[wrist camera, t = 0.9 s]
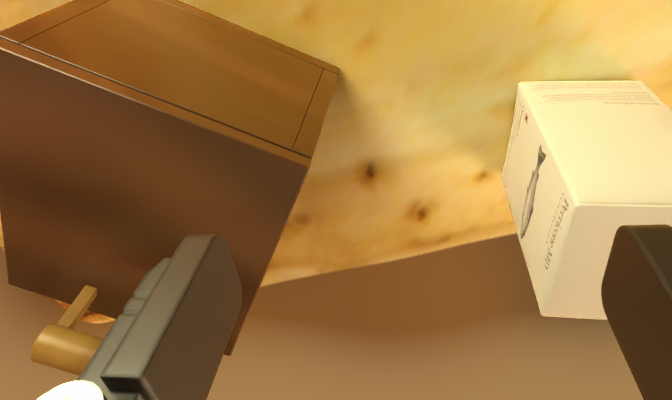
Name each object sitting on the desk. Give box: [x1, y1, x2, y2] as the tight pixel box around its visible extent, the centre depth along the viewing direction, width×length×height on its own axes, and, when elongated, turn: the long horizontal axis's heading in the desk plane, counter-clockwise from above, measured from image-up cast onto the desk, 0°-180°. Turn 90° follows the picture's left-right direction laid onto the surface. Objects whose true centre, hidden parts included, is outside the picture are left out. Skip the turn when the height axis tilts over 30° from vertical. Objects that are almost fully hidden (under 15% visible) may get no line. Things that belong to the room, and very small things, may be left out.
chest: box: [0, 0, 340, 161], centre depth 28 cm, size 15×14×11 cm
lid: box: [0, 38, 312, 376], centre depth 22 cm, size 16×14×6 cm
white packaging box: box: [501, 80, 672, 320], centre depth 25 cm, size 7×7×13 cm
